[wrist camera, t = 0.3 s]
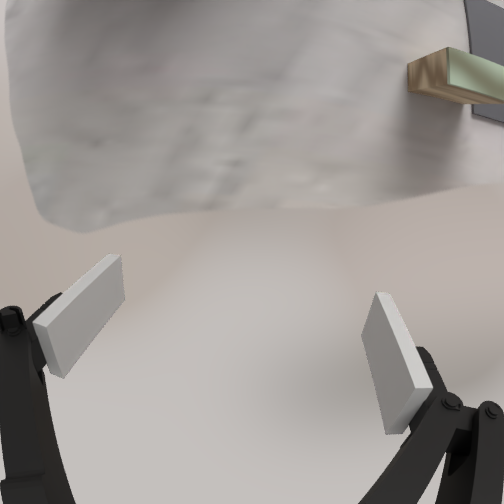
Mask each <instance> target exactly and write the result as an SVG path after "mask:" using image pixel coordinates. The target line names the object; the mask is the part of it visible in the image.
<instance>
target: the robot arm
mask: <svg viewBox="0 0 504 504" xmlns="http://www.w3.org/2000/svg"><path fill="white" fill-rule="evenodd" d="M124 300H125V295H124V286H123V275H122V262H121V255H115V254H108V255H107V256H105V257H104V258H103V259H102V260H100V261H99V262H98V263H97V264H96V265H94V266H93V267H92V268H91V269H90V270H89V271H88V272H87V273H85V274H84V275H83V276H82V277H81V278H80V279H79V280H77V281H76V282H75V283H74V284H73V285H72V286H71V287H69V289H67V290H66V291H65V292H64V293H61V292H60V293H58V294H56V295H54V296H52V297H51V298H50V299H49V300H48V301H46V302H45V304H43V305H42V306H41V307H40V309H38V310H37V311H36V312H35V313H34V314H32V315H31V316H30V317H29V318H28V319H27V320H26V321H25V319H24V316H23V312H22V309H21V308H20V307H18V306H8V307H5V308H3V309H1V310H0V433H1V444H2V453H3V460H4V467H5V473H6V478H5V479H4V480H1V483H0V490H1V496H2V501H3V504H76V503H75V501H74V498H73V495H72V492H71V489H70V486H69V483H68V480H67V476H66V473H65V470H64V466H63V463H62V459H61V456H60V452H59V448H58V444H57V440H56V436H55V431H54V427H53V422H52V417H51V412H50V407H49V401H48V395H47V389H46V382H45V375H44V372H43V369H42V368H43V367H44V366H45V365H46V364H47V366H48V368H49V371H50V373H51V374H53V375H56V376H58V377H61V378H63V379H64V378H65V376H66V375H67V374H68V372H69V371H70V370H71V368H72V367H73V366H74V364H75V363H76V362H77V360H78V359H79V358H80V356H81V355H82V354H83V352H84V351H85V350H86V349H87V347H88V346H89V345H90V343H91V342H92V341H93V339H94V338H95V337H96V335H97V334H98V333H99V332H100V331H101V329H102V328H103V327H104V325H105V324H106V323H107V322H108V320H109V319H110V318H111V317H112V315H113V314H114V313H115V311H116V310H117V309H118V308H119V306H120V305H121V304H122V303H123V302H124ZM361 337H362V340H363V344H364V347H365V351H366V355H367V359H368V362H369V366H370V370H371V374H372V378H373V381H374V386H375V390H376V394H377V398H378V402H379V407H380V411H381V415H382V419H383V424H384V429H385V434H386V435H388V434H403V432H404V431H405V430H406V428H407V427H408V425H409V427H410V430H411V433H410V435H409V436H408V437H407V439H406V440H405V441H404V442H403V444H402V445H401V447H400V450H399V451H398V452H397V454H396V455H395V457H394V458H393V459H392V461H391V462H390V464H389V465H388V466H387V468H386V469H385V471H384V472H383V473H382V475H381V476H380V477H379V479H378V480H377V481H376V482H375V484H374V485H373V486H372V487H371V489H370V490H369V491H368V492H367V494H366V495H365V496H364V497H363V498H362V500H361V501H360V502H359V503H358V504H417V502H418V501H419V499H420V498H421V496H422V494H423V493H424V491H425V489H426V487H427V486H428V484H429V482H430V480H431V478H432V477H433V475H434V473H435V471H436V469H437V467H438V465H439V463H440V462H441V460H442V458H443V456H444V454H445V452H446V459H445V464H444V469H443V473H442V478H441V483H440V487H439V491H438V495H437V499H436V502H435V504H501V502H502V493H503V483H504V482H503V481H504V413H503V410H502V409H501V407H500V406H499V405H498V404H496V403H494V402H492V401H485V402H483V403H482V404H481V405H480V406H479V407H478V409H476V408H471V407H466V406H463V403H462V401H461V400H460V398H459V397H458V396H456V395H455V394H453V393H450V392H447V389H446V387H445V385H444V382H443V380H442V378H441V376H440V374H439V372H438V371H437V367H436V365H435V364H434V361H433V359H432V357H431V355H430V354H429V353H428V351H427V350H426V349H425V348H423V347H415V345H414V343H413V340H412V338H411V336H410V334H409V332H408V330H407V328H406V326H405V323H404V321H403V319H402V318H401V315H400V313H399V311H398V309H397V307H396V306H395V303H394V301H393V299H392V298H391V295H390V294H389V293H383V292H376V293H375V296H374V299H373V302H372V305H371V308H370V311H369V314H368V317H367V320H366V323H365V326H364V329H363V332H362V334H361Z"/></svg>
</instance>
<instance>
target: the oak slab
mask: <svg viewBox="0 0 504 504" xmlns="http://www.w3.org/2000/svg"><path fill="white" fill-rule="evenodd" d="M408 92H412V93H417V94H422V95H427V96H432V97H436V98H441V99H445V100H449V101H453V102H457V103H461V104H504V66H501V65H499V64H496V63H494V62H491V61H489V60H486V59H483V58H481V57H478V56H475V55H472V54H469V53H466V52H463V51H460V50H457V49H454V48H451V47H447V48H444V49H442V50H439V51H437V52H434V53H432V54H429V55H427V56H425V57H422V58H420V59H418V60H415V61H413V62H411V63H408Z"/></svg>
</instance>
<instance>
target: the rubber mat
mask: <svg viewBox="0 0 504 504" xmlns="http://www.w3.org/2000/svg"><path fill="white" fill-rule="evenodd" d="M464 4H465V10H466V17H467V24H468V33H469V42H470V54H472V55H475V56H478V57H481V58H483V59H486V60H489V61H491V62H494V63H496V64H499V65H501V66H504V9H503V8H501V7H499V6H497V5H495V4H493V3H491V2H488V1H486V0H464ZM472 113H473V114H477V115H480V116H484V117H487V118H491V119H494V120H497V121H500V122H503V123H504V104H472Z"/></svg>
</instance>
